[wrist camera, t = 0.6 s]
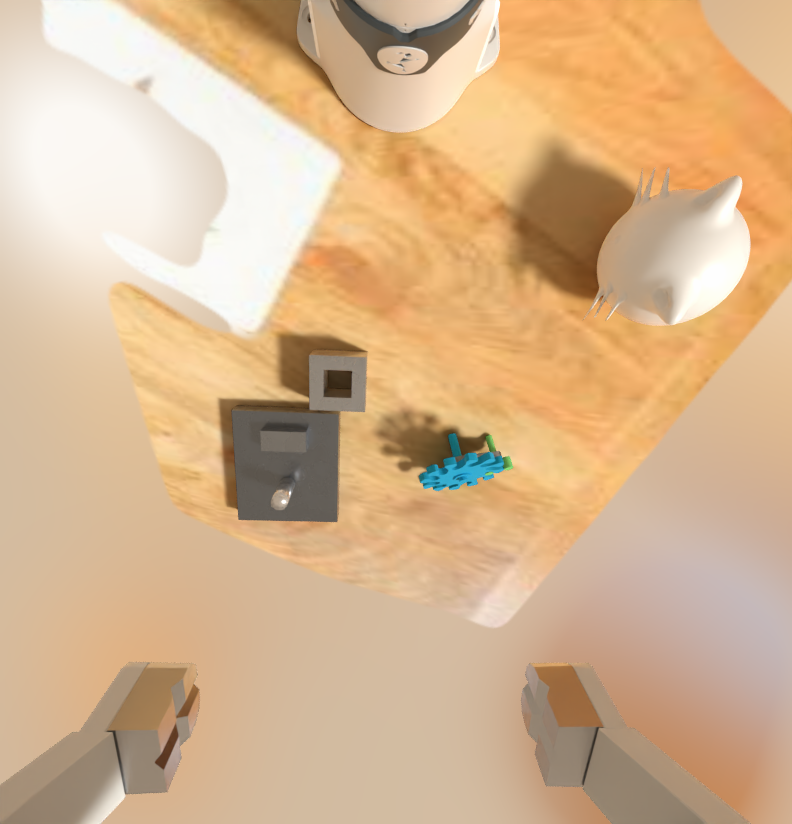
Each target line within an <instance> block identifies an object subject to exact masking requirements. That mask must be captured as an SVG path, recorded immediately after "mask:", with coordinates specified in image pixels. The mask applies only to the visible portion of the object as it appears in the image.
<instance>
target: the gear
mask: <svg viewBox="0 0 792 824" xmlns="http://www.w3.org/2000/svg"><path fill="white" fill-rule="evenodd" d="M448 438H449V442H450V446H451V450H452V454H453V457H450V458H446V459H444V460H443V462H444V466H445V467H443V468H438V465H436V464H434V465H431V466H429V467H427V468H426V469H427V472H424V473H422V474H420V475H419V479H420V483H423V487H424V489H427V488H430V487H433V490H435V491H439V490H442V489H443V488H445V487H448V486H449V490H455V489H459V487H460V486H461V485H462V484H464V483H466V482H467V486H473V485H477V484H478V483H477V478H480V477H483V480H489V479H491V478H494V475H493V473H499V472H501V471H503V470H510V469H512V468H513V466H512V462H511V459H510V457H509V456H507V457H503V458H502V456H501V453H500V452H499V451H496V449H495V446H494V443H493V439H492V436H491V435H488V436H486V441H487V444H488V447H489V451H490V452H487V453H479V454H476V453H467V454H465V455H463V456H462V455H461V451H460V447H459V443H458V439H457V436H456V434H455V433H452V434H449V435H448Z"/></svg>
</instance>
